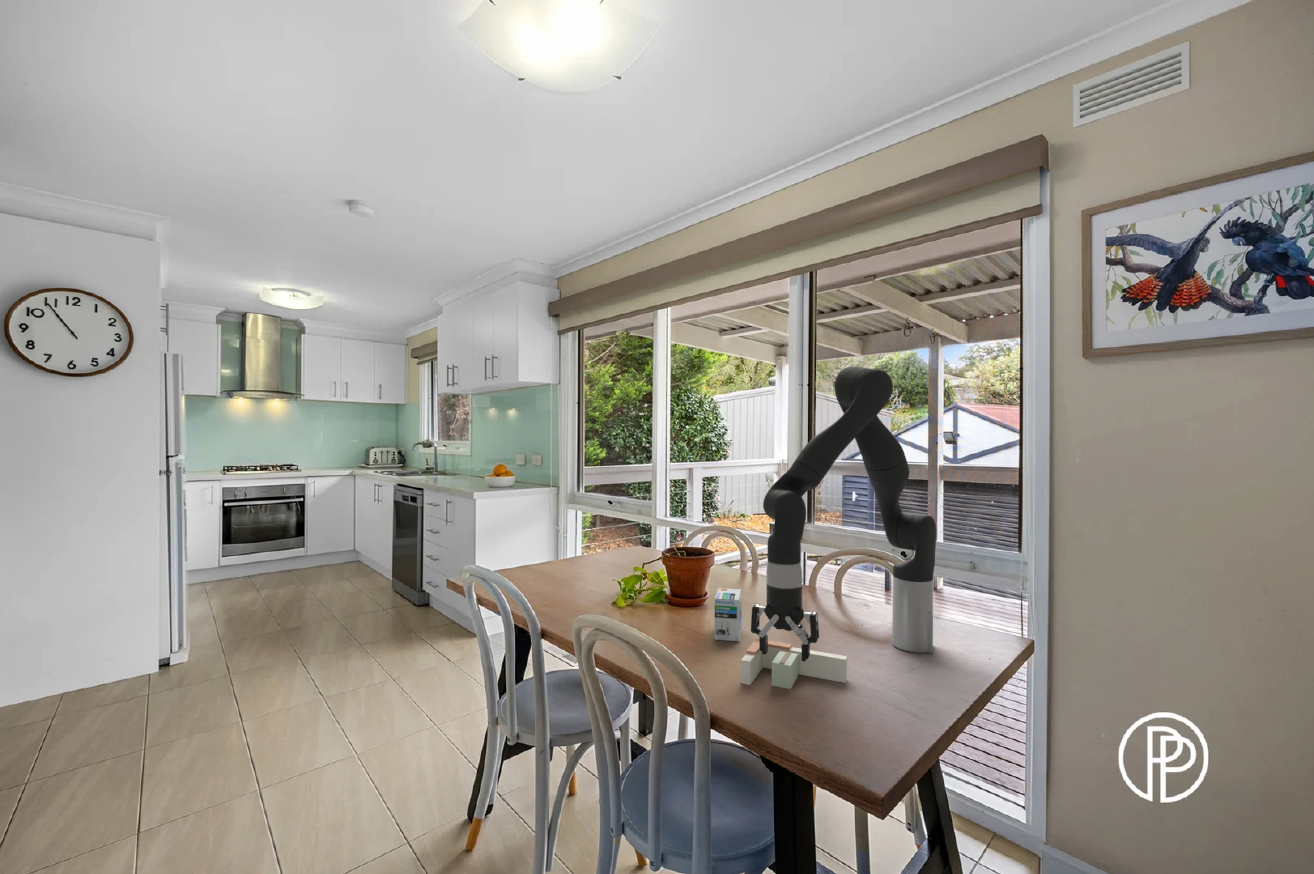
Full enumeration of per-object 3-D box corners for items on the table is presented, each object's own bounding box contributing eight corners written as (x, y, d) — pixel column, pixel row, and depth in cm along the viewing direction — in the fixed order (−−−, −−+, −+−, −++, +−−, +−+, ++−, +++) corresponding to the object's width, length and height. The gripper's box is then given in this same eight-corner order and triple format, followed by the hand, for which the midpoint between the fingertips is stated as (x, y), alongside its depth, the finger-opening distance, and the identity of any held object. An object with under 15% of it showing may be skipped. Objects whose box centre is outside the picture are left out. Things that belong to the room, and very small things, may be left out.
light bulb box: (740, 642, 145) (740, 600, 145) (713, 640, 146) (713, 598, 146) (742, 628, 156) (742, 588, 155) (717, 626, 157) (717, 587, 157)
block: (790, 689, 119) (790, 665, 119) (771, 685, 121) (771, 661, 121) (797, 676, 125) (798, 653, 125) (779, 673, 127) (779, 650, 127)
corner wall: (847, 679, 124) (847, 653, 123) (838, 703, 113) (838, 674, 113) (756, 662, 132) (756, 638, 132) (740, 683, 122) (740, 656, 121)
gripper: (746, 582, 123) (747, 657, 123) (814, 590, 116) (814, 669, 117) (757, 574, 129) (757, 645, 130) (821, 581, 123) (821, 655, 124)
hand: (784, 656), depth 123 cm, fingers open, 8 cm apart
